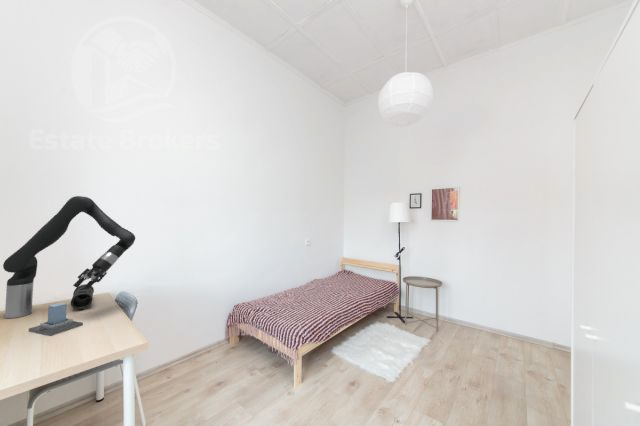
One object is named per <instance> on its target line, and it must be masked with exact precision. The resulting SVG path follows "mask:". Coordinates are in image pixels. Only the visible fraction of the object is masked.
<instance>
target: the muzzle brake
mask: <svg viewBox="0 0 640 426" xmlns="http://www.w3.org/2000/svg"><path fill="white" fill-rule="evenodd" d="M86 284H87V283H86ZM86 284H80V285H79V286H78V287H75V289H74V291H73V294H72V298H71V301H70V305H71V307H72V308H73V309H74V310H79V311H83V310H84V309H86V308H88V307H89V306H90V305H91V304H92V302H93V298H94V297H93V296H94V292H95V289H94V287H93V285H92V286H91V287H90V288H89V289H86V288H84V286H85V285H86Z"/></svg>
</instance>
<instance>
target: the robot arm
mask: <svg viewBox="0 0 640 426" xmlns="http://www.w3.org/2000/svg"><path fill="white" fill-rule="evenodd" d="M80 213H85V214H87V215H88V216H89V217H91V218H92V219H93V220H95V222H96V223H97V224H98V225H99V227H100V229H103V231H105V232H106V233H107V234H108V235H110V236H112V237H116V238H118V239H119V241H117V242H116V243H115V244H113V245H112V246H111V247H109V249H107V251H105V252H104V253H103V254H102V255H101V256H99V258H97V260H96V261H95V262H93V264H92V265H91V266H92V268H90V269H89V268H85V270H84V271H82V272H81V273H80V274H79V275H78V276H77V279H78V280H77V281H76V282H75V283H74V284H73V285H72V286H73V287H75V288H77V287H78V286H80V285H82V284H83V282H85V281H86V280H89V279H90V280H89V281H88V282H87V283H86V285H85V286H84V288H86V289H89V288H90V287H91V286H92V287H93V285H94V284H96V283H100V282H101V281H102V280H103V279H104V277H105V276H107V274H108V271H109V269H111V268H112V267H113V266H114V265H115V263H116V262H117V261H118V260H119V258H120V257H122V255H123V254H124V253H125V252H126V251H127V250H128V249H130V247H132V245H134V244H135V240H136V236H135V234H134V233H133V232H132V231H130V230H128V229H126V228H125V227H123V226H122V225H120V224H119V223H117V222H116V221H115V220H114V219H112V218H111V217H110V216H109V215H107V214H106V212H104V211H103V209H101V208H100V207H99V205H97V203H96V202H95V201H94V200H93V199H91V198H90V197H88V196H81V195H76V196H72V197H71V198H69V199H68V200H67V201H66V202H65V204H63V206H62V207H61V208H60V210H59V211H57V213H56V214H55V215H53V217H52V218H50V220H48V221H47V222H46V223H45V224H44V225H43V226H42V227H41V228H40V229H38V230H37V232H36V233H35V234H34V235H33V236H32V237H31V238H29V239H28V240H27V241H26V242H25V243H24V244H23V245H22V246H20V248H19V249H18V250H16V251H15V252H13V253H12V254H11V255H9V256H8V257H7V258H6V259H5V260H4V262H3V264H2V268H3V270H4V271H5V272H7V273H11V274H12V273H13V275H12V276H11V277H10V278H9V279H8V280H7V282H6V289H5V290H6V291H5V295H6V296H5V306H4V307H5V308H4V309H5V310H4V318H5V319H14V318H15V319H16V318H20V317H24V316H25V317H26V316H28V315H30V314H32V313H33V312H32V310H33V309H32V308H33V298H34V297H33V295H34V280H35V277H36V275H37V270H38V259H37V257H36V255H38V253H40V252H42V251H43V250H45V249H46V248H48V247H50V246H52V245H53V244H55V243H56V242H58V240H60V239H61V237H62V236H63V235H64V234H65V233H66V232H67V231H68V228H69V226H70V223H71V221H72V220H73V219H74V218H75V217H76V216H78V215H79V214H80Z"/></svg>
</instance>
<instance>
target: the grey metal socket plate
mask: <svg viewBox="0 0 640 426" xmlns="http://www.w3.org/2000/svg"><path fill="white" fill-rule="evenodd" d="M83 325H84V323H83V322H80V321H75V320H74V319H73V318H68V317H66V321H64V322H61V323H57V324H54V325H50V324H48V321H44V322H42V323H39V325H36V326H34V327H33V326H32V327H30V328H28V332H29V333H35V334H40V335H45V336H50V337H51V336H55V335H57V334H61V333H63V332H66V331H67V332H68V331H70V330H73V329H76V328H78V327H82V326H83Z"/></svg>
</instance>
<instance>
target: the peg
mask: <svg viewBox="0 0 640 426" xmlns="http://www.w3.org/2000/svg"><path fill="white" fill-rule="evenodd" d="M67 307H68V303H63V302H59V303H54V304H50V305H48V308H47V322H48V324H50V325H54V324H57V323H61V322H64V321H66V318H67Z"/></svg>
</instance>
